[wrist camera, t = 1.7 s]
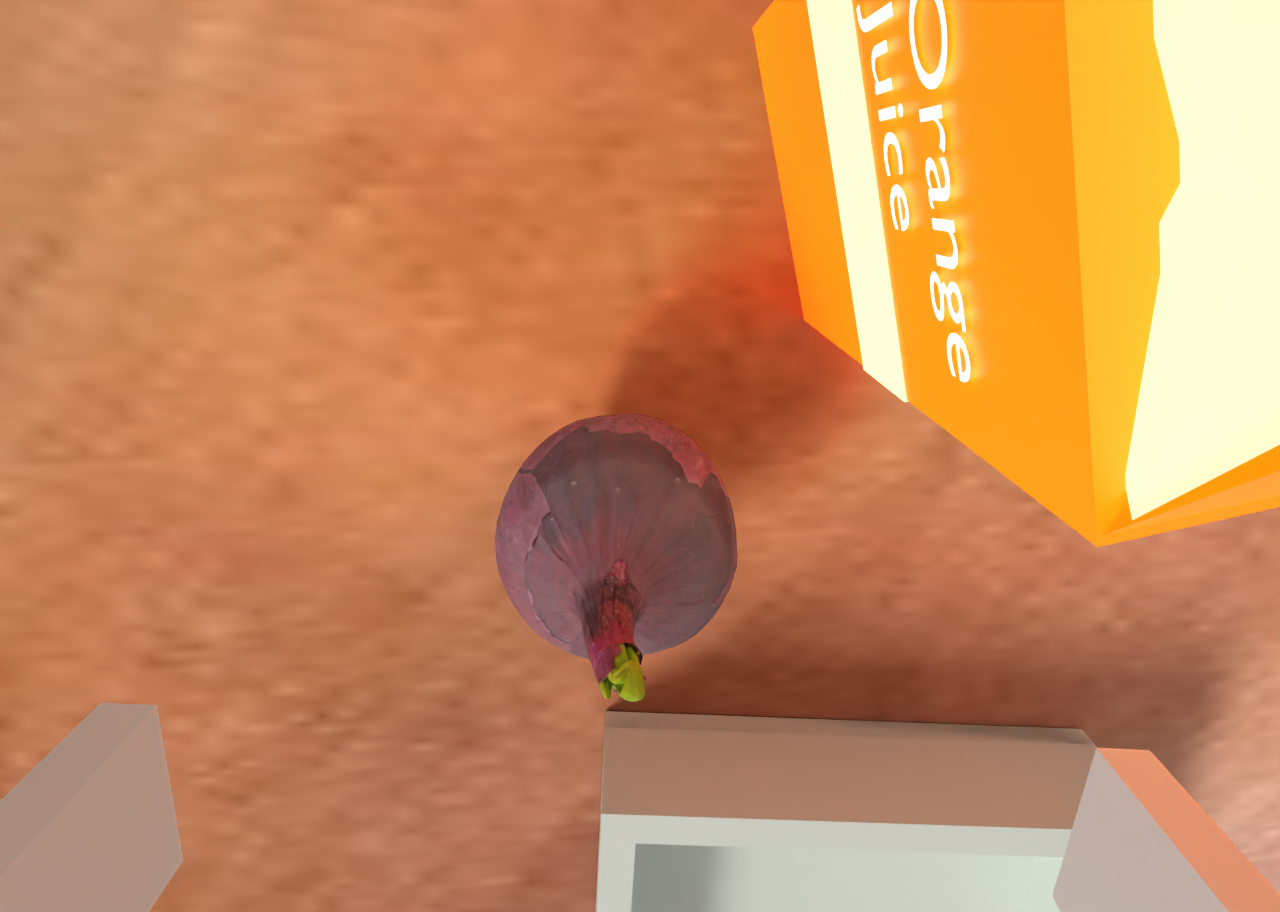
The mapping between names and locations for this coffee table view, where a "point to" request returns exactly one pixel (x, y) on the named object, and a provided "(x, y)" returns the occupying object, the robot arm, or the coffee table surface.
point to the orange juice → (1049, 235)
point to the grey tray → (833, 814)
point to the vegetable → (617, 543)
